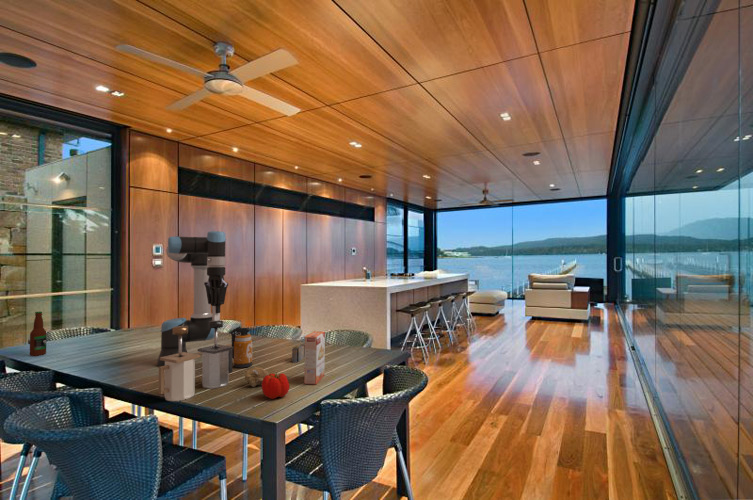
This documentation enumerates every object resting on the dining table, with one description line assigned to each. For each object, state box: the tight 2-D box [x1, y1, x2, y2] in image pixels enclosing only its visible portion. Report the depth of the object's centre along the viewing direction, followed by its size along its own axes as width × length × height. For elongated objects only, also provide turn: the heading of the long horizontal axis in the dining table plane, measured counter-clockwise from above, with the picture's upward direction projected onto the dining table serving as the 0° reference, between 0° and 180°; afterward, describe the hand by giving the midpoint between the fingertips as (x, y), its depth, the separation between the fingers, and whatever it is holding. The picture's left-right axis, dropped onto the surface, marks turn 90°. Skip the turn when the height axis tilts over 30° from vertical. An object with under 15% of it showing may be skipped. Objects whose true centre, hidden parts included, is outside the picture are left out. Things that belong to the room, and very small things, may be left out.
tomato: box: [261, 372, 290, 400], centre depth 158 cm, size 11×11×9 cm
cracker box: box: [303, 330, 326, 385], centre depth 180 cm, size 14×6×21 cm, turn 172°
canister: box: [230, 326, 253, 369], centre depth 204 cm, size 9×11×20 cm
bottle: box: [29, 311, 47, 357], centre depth 231 cm, size 7×7×25 cm
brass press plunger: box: [173, 326, 188, 357], centre depth 159 cm, size 7×7×16 cm
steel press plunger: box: [209, 319, 224, 349], centre depth 174 cm, size 7×7×16 cm
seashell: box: [244, 366, 270, 388], centre depth 175 cm, size 14×8×8 cm, turn 168°
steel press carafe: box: [197, 344, 234, 390], centre depth 175 cm, size 10×14×16 cm
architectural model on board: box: [291, 343, 305, 364], centre depth 216 cm, size 11×3×10 cm, turn 166°
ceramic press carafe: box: [158, 352, 201, 402], centre depth 157 cm, size 10×14×16 cm
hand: (216, 320), depth 174 cm, fingers closed
